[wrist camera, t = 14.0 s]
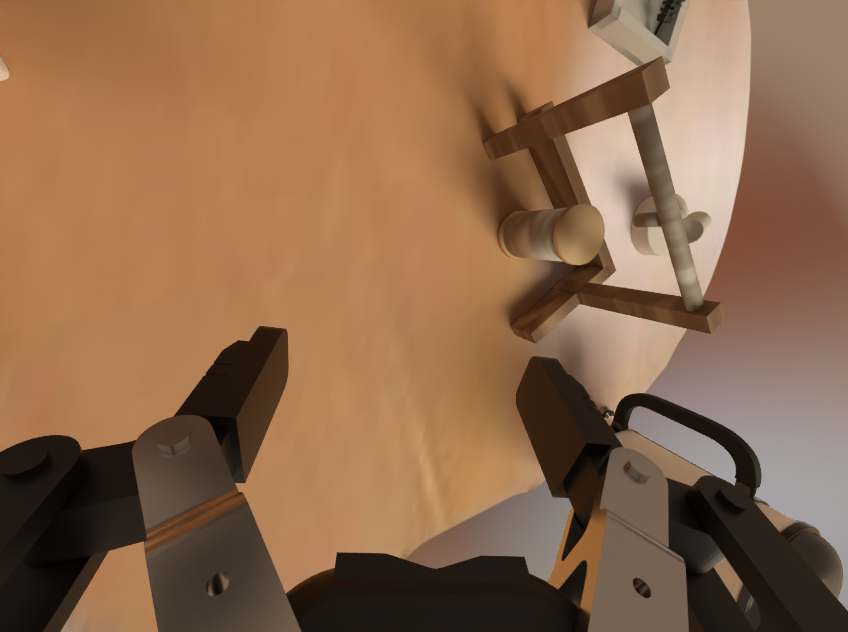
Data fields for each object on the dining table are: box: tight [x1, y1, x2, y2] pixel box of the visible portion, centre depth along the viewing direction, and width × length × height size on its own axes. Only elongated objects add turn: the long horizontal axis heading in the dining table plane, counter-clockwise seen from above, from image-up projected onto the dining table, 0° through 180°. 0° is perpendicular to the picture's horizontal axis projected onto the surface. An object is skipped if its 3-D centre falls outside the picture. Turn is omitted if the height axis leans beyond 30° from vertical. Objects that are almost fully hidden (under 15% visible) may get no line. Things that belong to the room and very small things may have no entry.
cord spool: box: [498, 204, 605, 265], centre depth 38 cm, size 6×6×10 cm
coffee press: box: [604, 393, 843, 630], centre depth 41 cm, size 17×16×30 cm
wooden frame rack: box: [483, 56, 725, 343], centre depth 34 cm, size 15×22×18 cm, turn 34°
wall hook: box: [631, 194, 711, 256], centre depth 46 cm, size 9×10×10 cm
